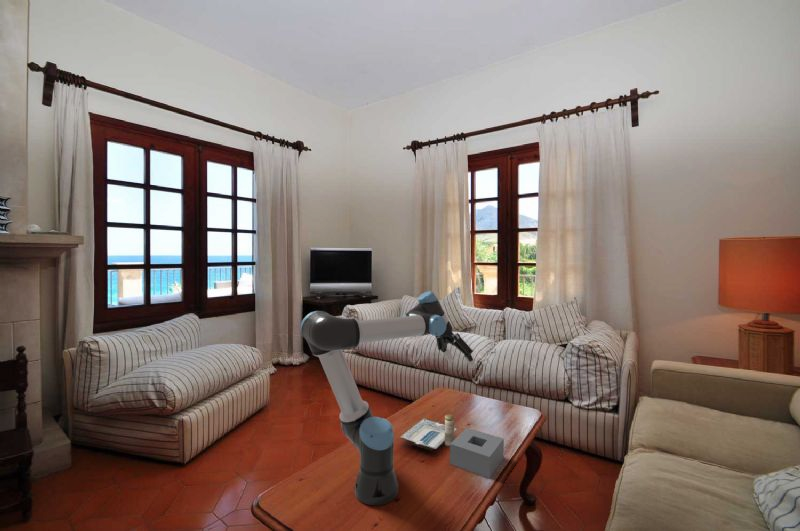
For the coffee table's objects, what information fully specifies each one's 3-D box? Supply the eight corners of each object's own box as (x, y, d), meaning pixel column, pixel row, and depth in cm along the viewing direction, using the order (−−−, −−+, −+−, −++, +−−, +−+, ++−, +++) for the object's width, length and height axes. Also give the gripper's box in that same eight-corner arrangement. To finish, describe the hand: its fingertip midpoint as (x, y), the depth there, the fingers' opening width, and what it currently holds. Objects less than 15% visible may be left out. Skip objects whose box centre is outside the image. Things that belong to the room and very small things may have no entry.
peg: (451, 447, 149) (451, 419, 149) (443, 444, 152) (443, 417, 151) (455, 443, 153) (455, 416, 152) (447, 440, 155) (447, 413, 155)
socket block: (489, 478, 128) (489, 456, 128) (450, 464, 137) (450, 443, 137) (503, 458, 141) (503, 438, 141) (466, 446, 150) (466, 427, 150)
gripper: (466, 320, 142) (488, 362, 146) (429, 318, 162) (449, 355, 167) (455, 331, 138) (477, 374, 142) (418, 328, 159) (438, 365, 163)
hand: (462, 364), depth 154 cm, fingers open, 13 cm apart
